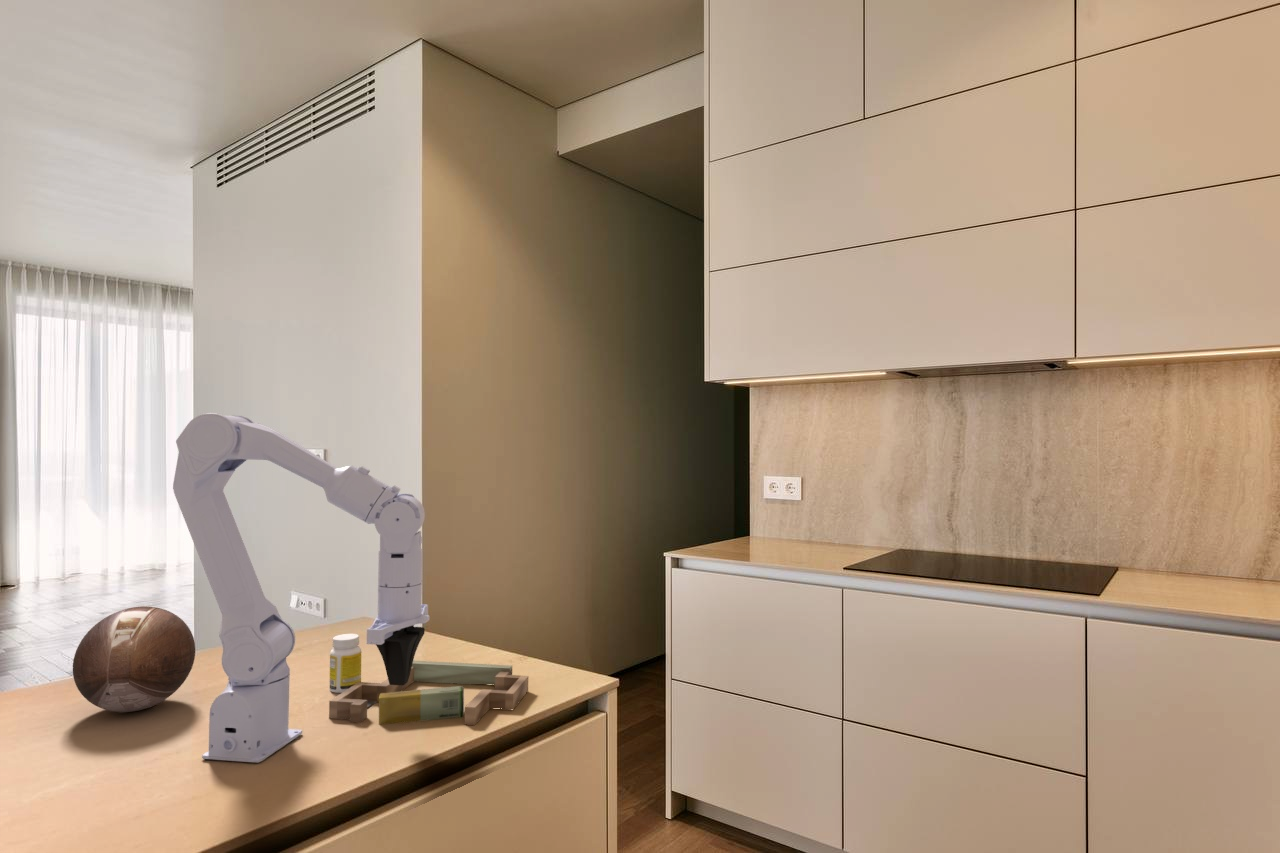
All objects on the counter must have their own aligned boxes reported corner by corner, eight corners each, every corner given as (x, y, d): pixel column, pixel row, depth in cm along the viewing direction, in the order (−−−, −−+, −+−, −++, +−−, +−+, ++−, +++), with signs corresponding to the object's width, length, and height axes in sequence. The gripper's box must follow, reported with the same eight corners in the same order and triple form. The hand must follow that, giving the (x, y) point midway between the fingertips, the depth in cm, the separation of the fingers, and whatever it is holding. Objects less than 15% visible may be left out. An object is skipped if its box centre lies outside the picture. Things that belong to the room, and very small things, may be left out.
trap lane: (496, 730, 101) (496, 709, 101) (325, 720, 104) (326, 699, 104) (533, 684, 120) (533, 666, 121) (388, 676, 124) (389, 659, 124)
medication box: (463, 711, 109) (464, 684, 109) (464, 718, 106) (464, 690, 106) (378, 719, 105) (379, 691, 106) (377, 726, 103) (378, 697, 103)
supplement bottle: (366, 684, 120) (367, 633, 120) (352, 694, 115) (353, 641, 115) (338, 683, 120) (339, 632, 120) (323, 692, 115) (324, 639, 116)
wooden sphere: (65, 737, 97) (69, 625, 98) (76, 702, 110) (79, 603, 110) (196, 714, 106) (198, 611, 106) (192, 685, 118) (194, 593, 119)
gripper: (404, 595, 91) (402, 704, 91) (448, 575, 106) (447, 668, 106) (351, 594, 92) (350, 701, 92) (402, 573, 107) (401, 666, 106)
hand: (398, 683), depth 99 cm, fingers closed
